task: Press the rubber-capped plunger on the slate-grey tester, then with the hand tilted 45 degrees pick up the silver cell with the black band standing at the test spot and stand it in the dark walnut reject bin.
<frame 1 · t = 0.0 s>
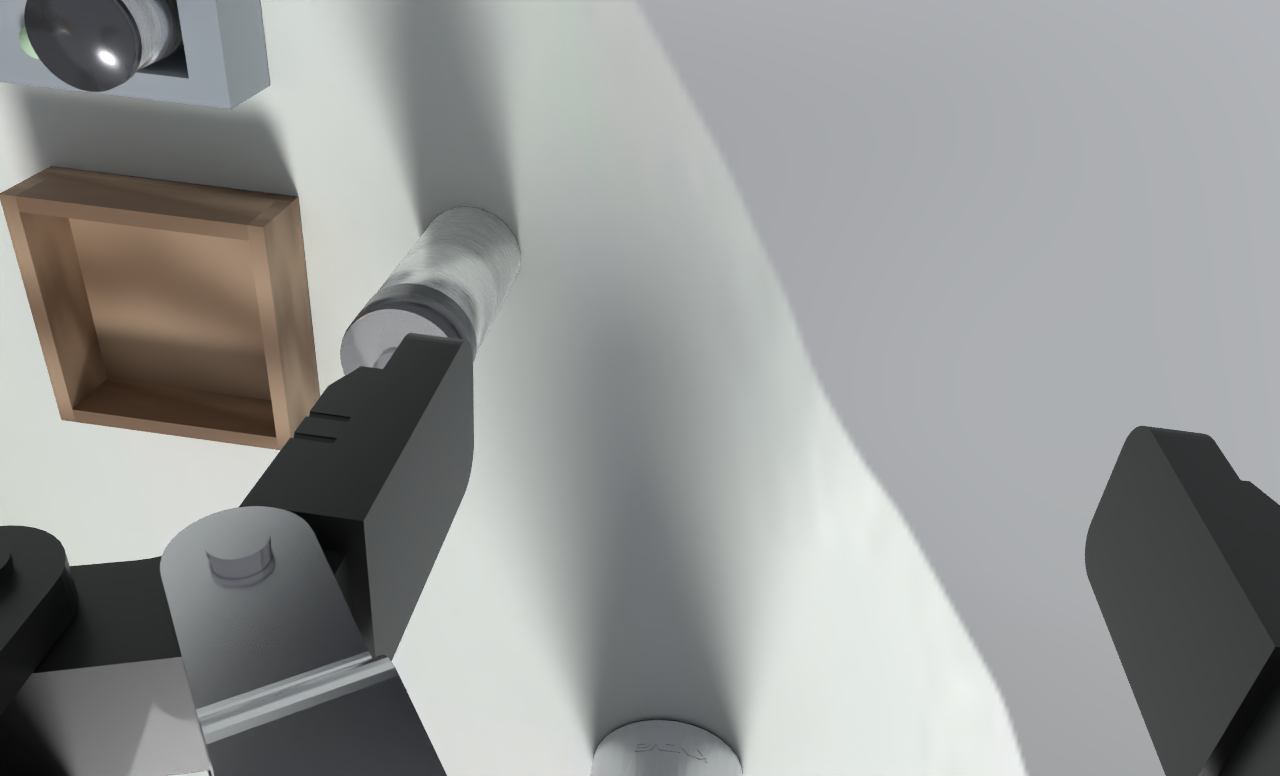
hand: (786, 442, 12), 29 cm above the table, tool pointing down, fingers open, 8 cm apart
plunger: (122, 20, 36), point 4 cm above the table, slide at 0.0 cm
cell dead: (472, 253, 44), on the table
reject bin: (194, 296, 47), on the table
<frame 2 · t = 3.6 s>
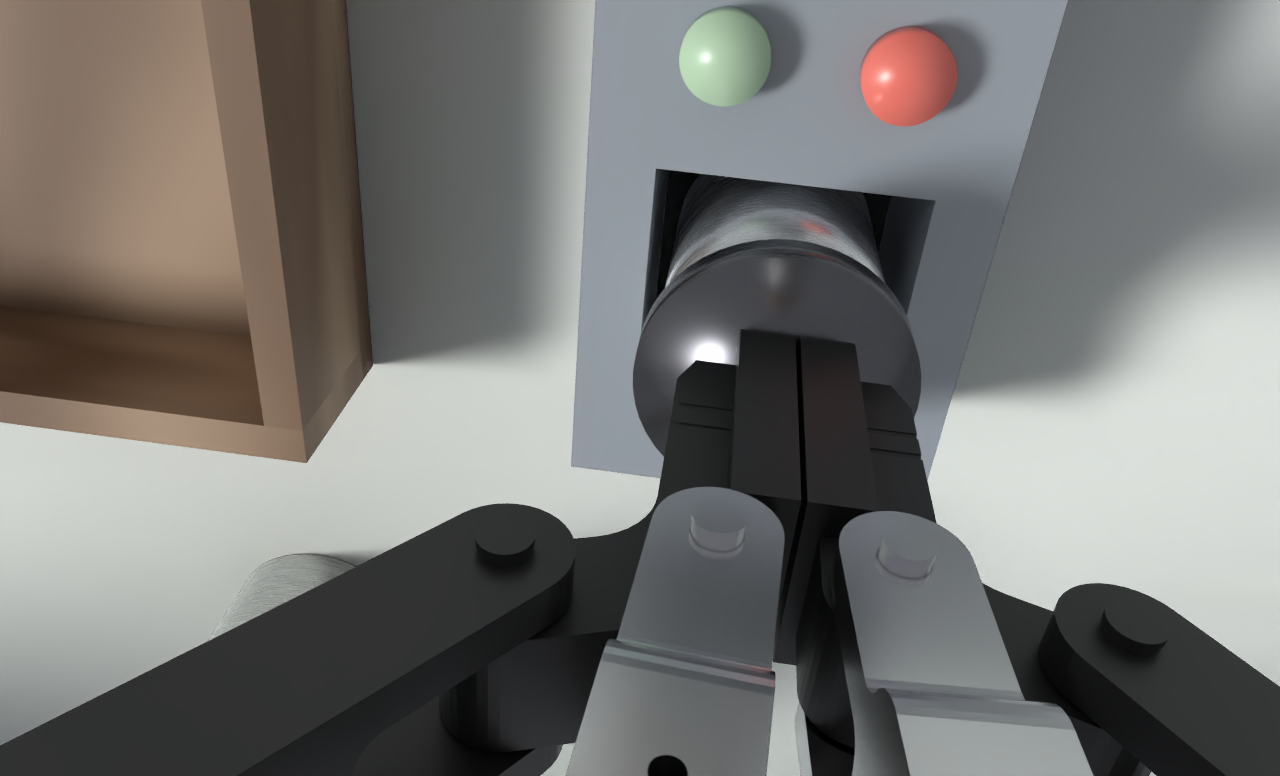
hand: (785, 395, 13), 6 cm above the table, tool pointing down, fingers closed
plunger: (773, 299, 15), point 3 cm above the table, slide at -0.7 cm, touching gripper
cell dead: (327, 620, 25), on the table
reject bin: (48, 59, 18), on the table
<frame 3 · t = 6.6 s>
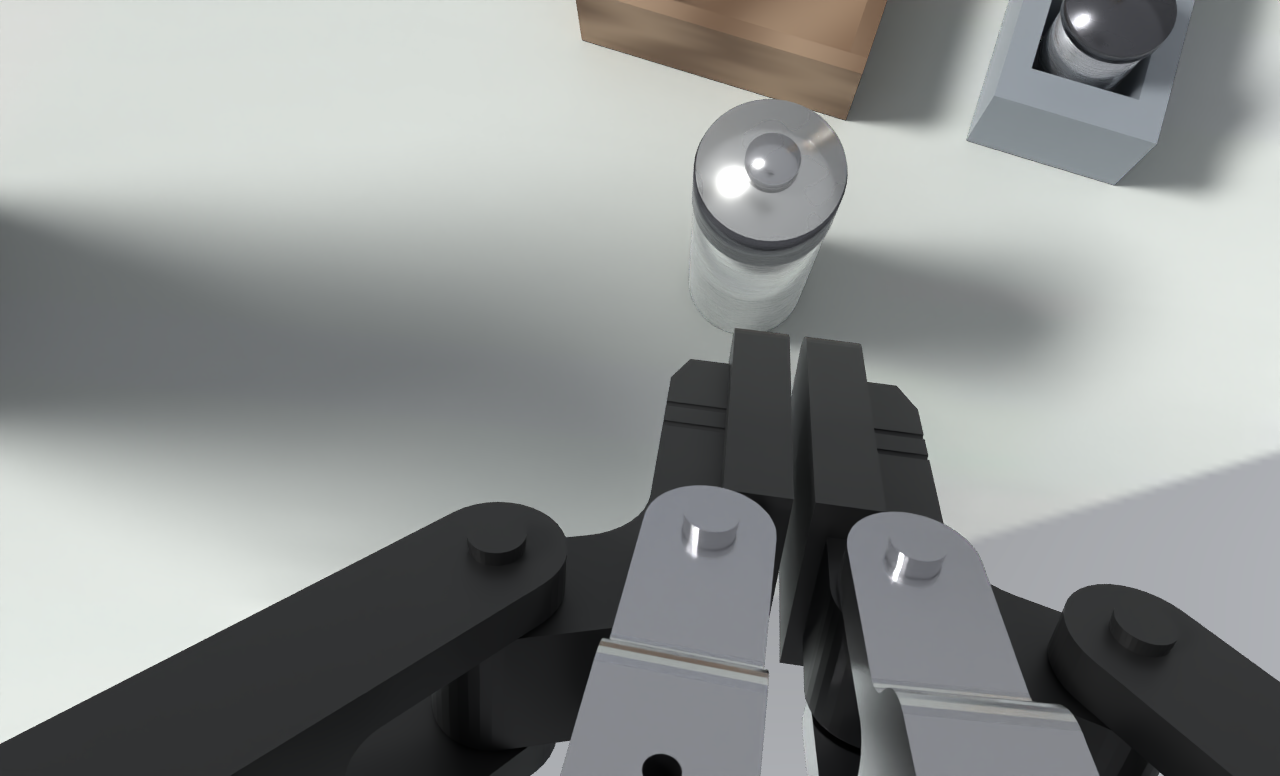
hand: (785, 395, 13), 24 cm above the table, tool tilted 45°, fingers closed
plunger: (1089, 48, 37), point 3 cm above the table, slide at -1.1 cm
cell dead: (745, 280, 39), on the table
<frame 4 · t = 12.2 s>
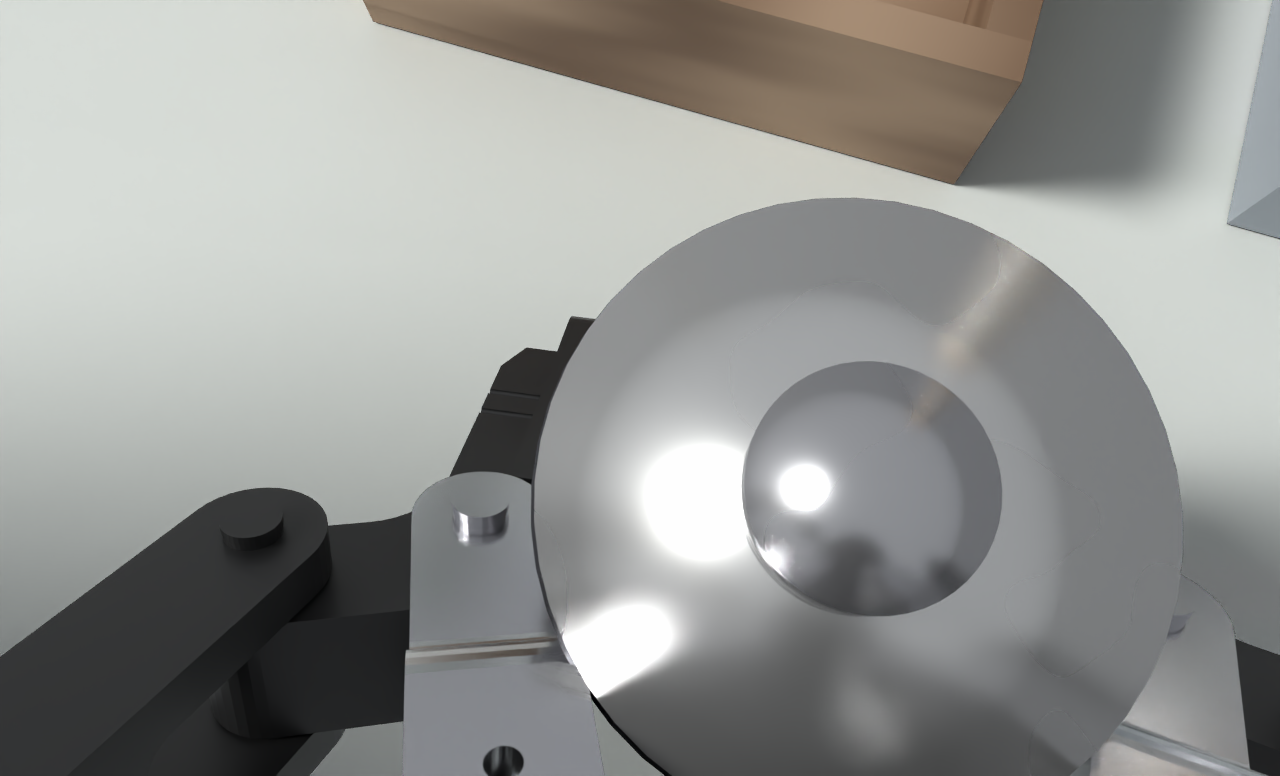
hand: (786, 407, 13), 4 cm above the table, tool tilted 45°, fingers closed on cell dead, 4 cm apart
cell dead: (743, 569, 16), on the table, touching gripper
when the fingers open (6 cm above the table, at t = 17.3 s): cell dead stays where it is, resting on reject bin.
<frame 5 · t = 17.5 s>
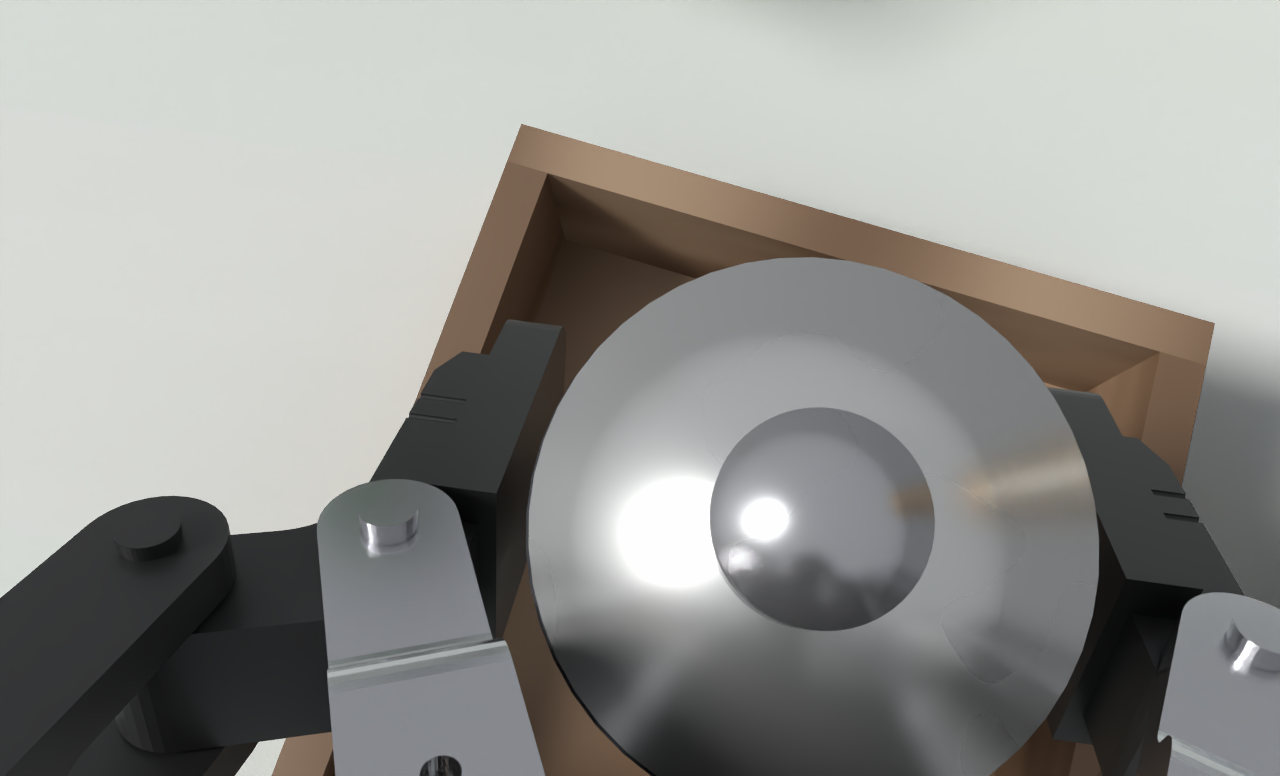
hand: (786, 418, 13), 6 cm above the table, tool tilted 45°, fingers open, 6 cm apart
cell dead: (732, 578, 17), point 1 cm above the table, touching reject bin
reject bin: (738, 574, 18), on the table
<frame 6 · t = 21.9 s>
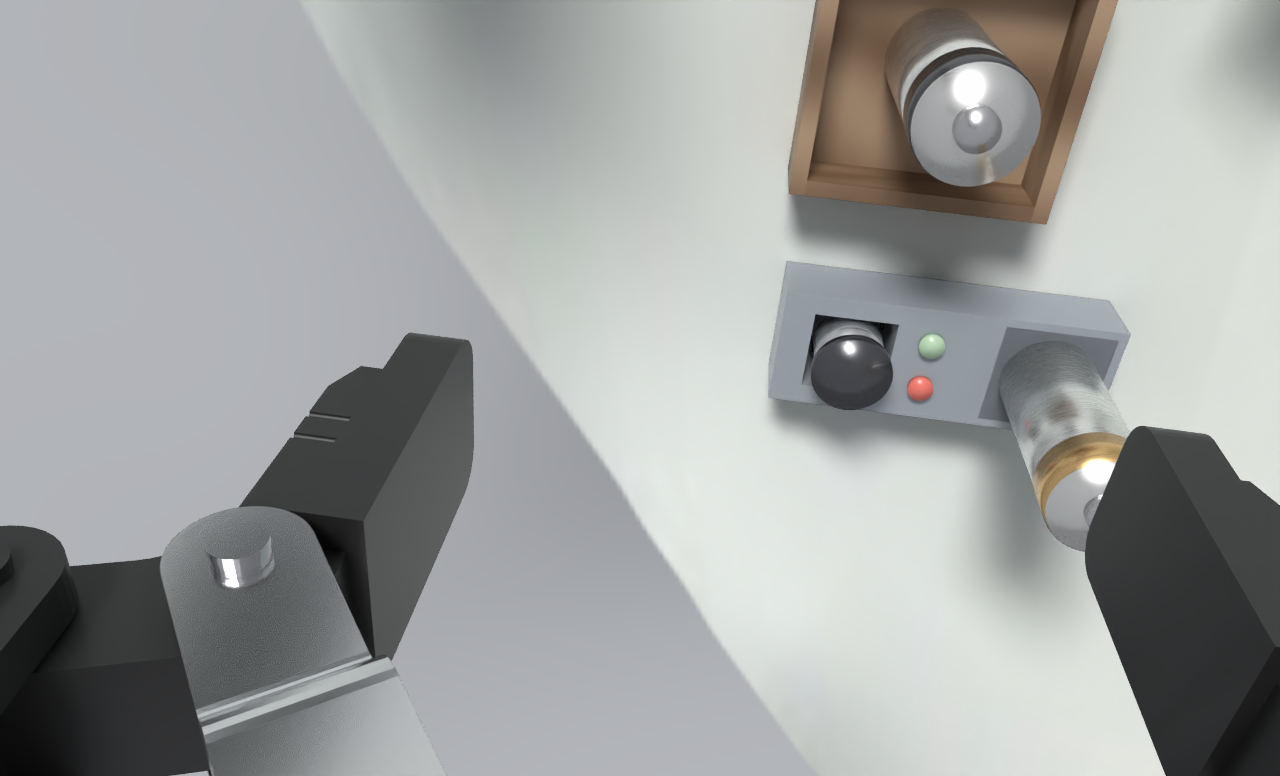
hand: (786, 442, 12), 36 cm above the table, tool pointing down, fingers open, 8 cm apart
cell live: (1046, 380, 48), point 3 cm above the table, touching tester
plunger: (848, 348, 49), point 3 cm above the table, slide at -1.1 cm
tester: (932, 333, 51), on the table
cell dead: (935, 60, 43), point 1 cm above the table, touching reject bin
reject bin: (936, 59, 44), on the table
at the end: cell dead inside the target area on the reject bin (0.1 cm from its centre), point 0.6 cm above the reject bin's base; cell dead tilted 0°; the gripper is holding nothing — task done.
